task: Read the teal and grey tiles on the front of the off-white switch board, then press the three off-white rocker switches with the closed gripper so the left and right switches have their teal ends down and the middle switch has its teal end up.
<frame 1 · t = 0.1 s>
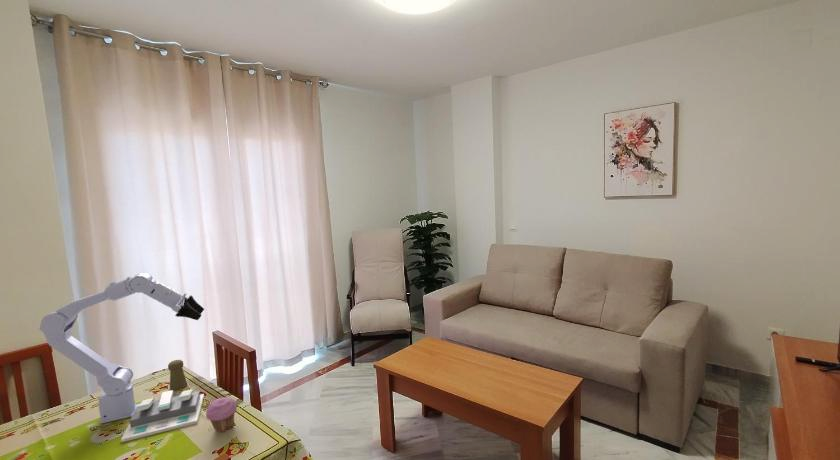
hand: (201, 314, 140), 32 cm above the table, tool tilted 50°, fingers open, 7 cm apart
right switch: (185, 396, 134), point 5 cm above the table, hinge at -11.0°
middle switch: (166, 401, 132), point 5 cm above the table, hinge at 11.0°
cupcake: (223, 428, 124), on the table
cork: (178, 387, 151), on the table
left switch: (145, 405, 130), point 5 cm above the table, hinge at -11.0°
switch board: (166, 417, 131), on the table
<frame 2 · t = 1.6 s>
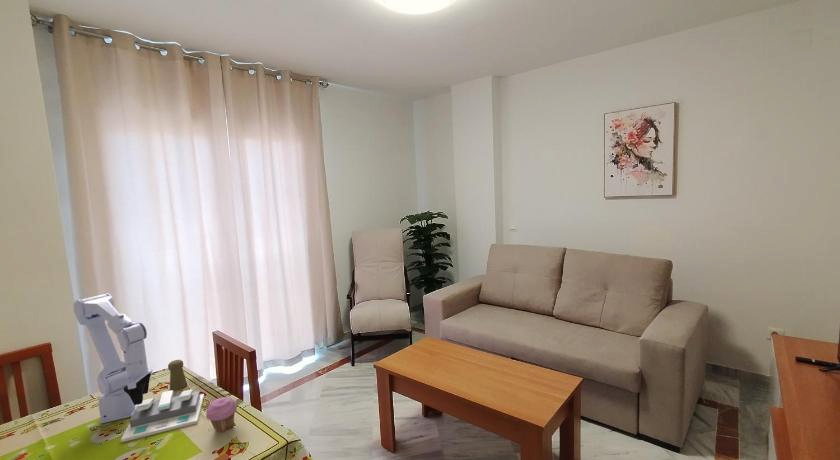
hand: (141, 398, 126), 9 cm above the table, tool pointing down, fingers open, 6 cm apart
nothing on the table moved.
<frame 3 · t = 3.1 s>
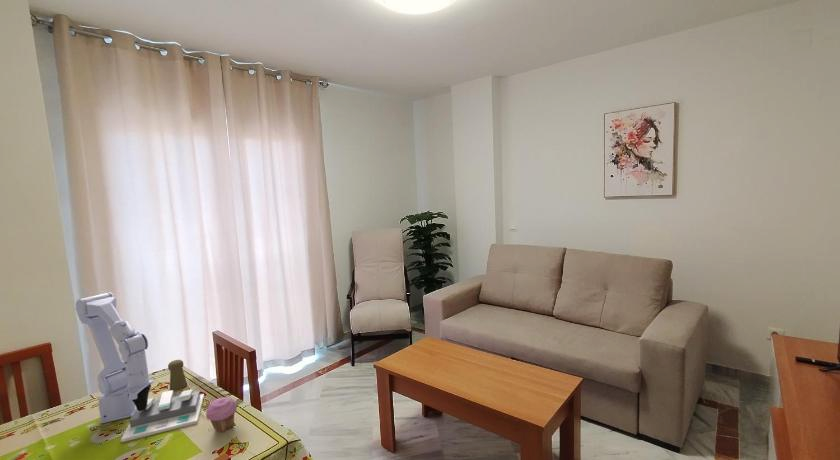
hand: (142, 409, 126), 6 cm above the table, tool pointing down, fingers closed, pressing on left switch
left switch: (145, 405, 130), point 5 cm above the table, hinge at -9.8°, touching gripper
everything else where it was.
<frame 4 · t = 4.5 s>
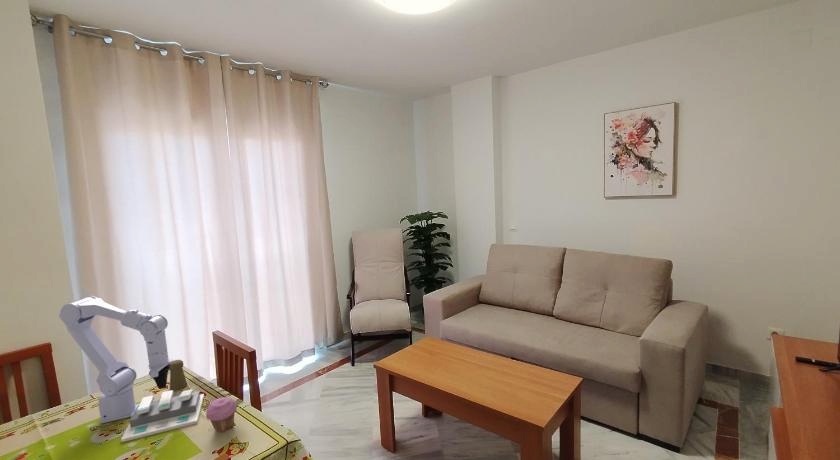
hand: (162, 387, 133), 9 cm above the table, tool pointing down, fingers closed
left switch: (145, 405, 129), point 5 cm above the table, hinge at 4.5°
everything else where it was.
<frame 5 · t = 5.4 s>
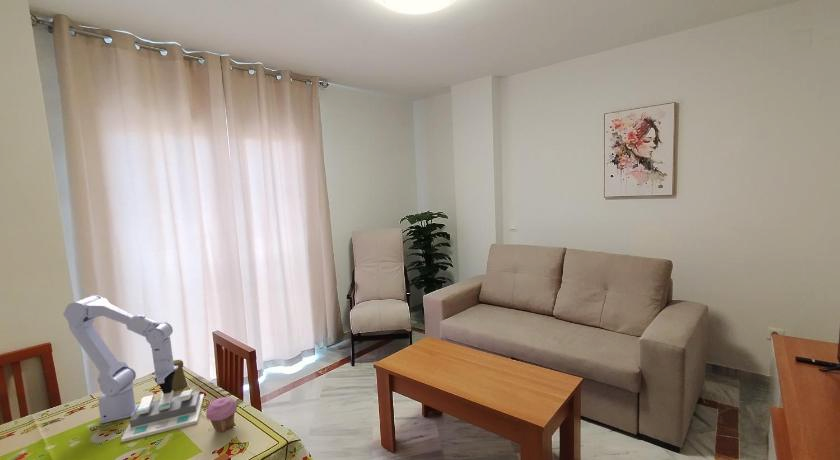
hand: (167, 393, 135), 6 cm above the table, tool pointing down, fingers closed, pressing on middle switch
middle switch: (166, 401, 132), point 5 cm above the table, hinge at 11.0°, touching gripper
left switch: (145, 405, 129), point 5 cm above the table, hinge at 7.3°
everything else where it was.
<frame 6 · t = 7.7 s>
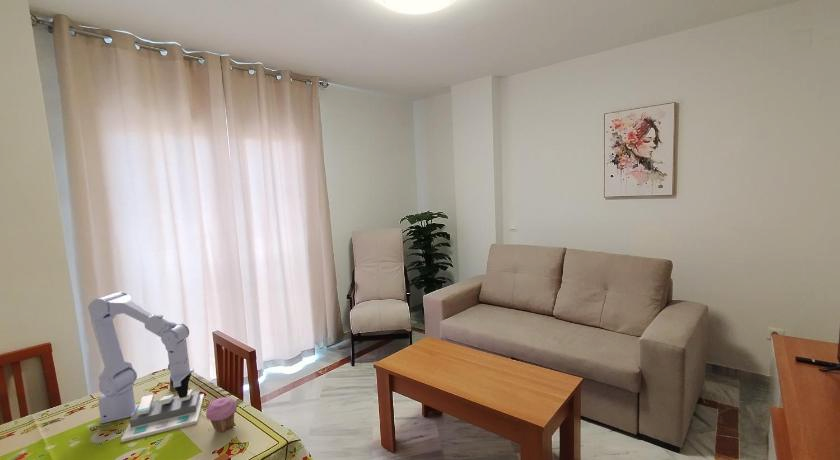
hand: (183, 396, 131), 7 cm above the table, tool pointing down, fingers closed
right switch: (185, 396, 134), point 5 cm above the table, hinge at -11.0°, touching gripper
middle switch: (166, 401, 132), point 5 cm above the table, hinge at -15.9°
left switch: (145, 405, 129), point 5 cm above the table, hinge at 10.1°
everything else where it was.
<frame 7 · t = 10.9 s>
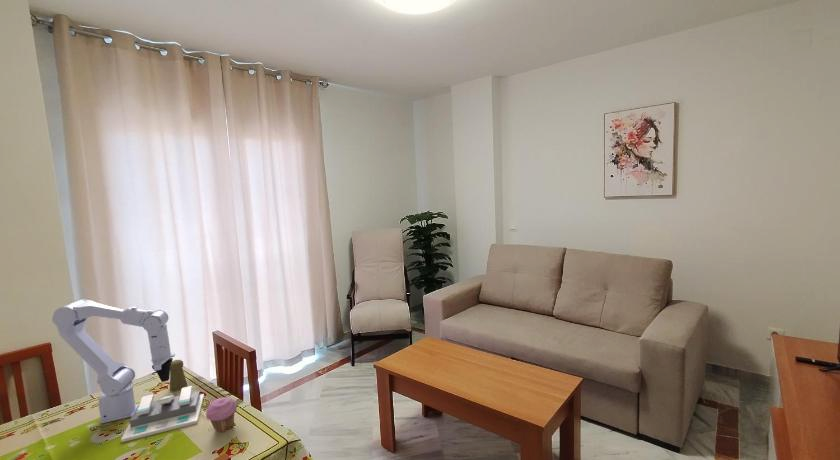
hand: (165, 380, 135), 10 cm above the table, tool pointing down, fingers closed
right switch: (185, 396, 134), point 5 cm above the table, hinge at 12.4°
middle switch: (166, 401, 132), point 5 cm above the table, hinge at -19.0°, touching switch board
left switch: (145, 405, 129), point 5 cm above the table, hinge at 10.9°
everything else where it was.
at the end: left switch at +11° (first picture: -11°); middle switch at -19° (first picture: +11°); right switch at +12° (first picture: -11°) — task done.
